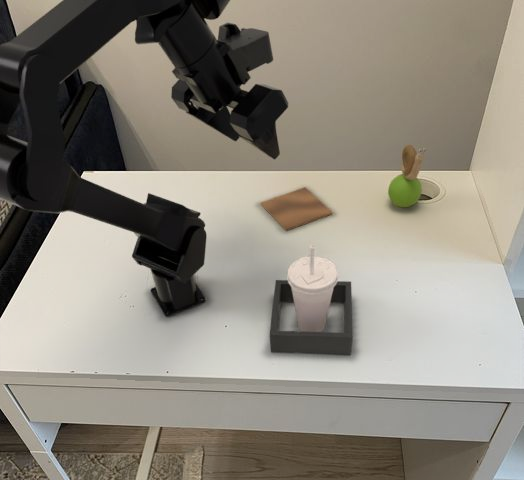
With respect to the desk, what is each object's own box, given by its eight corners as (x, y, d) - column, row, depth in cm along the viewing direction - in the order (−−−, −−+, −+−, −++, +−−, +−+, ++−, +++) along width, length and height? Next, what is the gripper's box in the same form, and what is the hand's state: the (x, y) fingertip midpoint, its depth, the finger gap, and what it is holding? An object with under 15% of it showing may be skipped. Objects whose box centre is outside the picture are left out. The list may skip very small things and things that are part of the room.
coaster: (332, 214, 93) (332, 212, 92) (286, 231, 90) (286, 229, 90) (305, 189, 98) (305, 187, 98) (260, 204, 96) (260, 202, 95)
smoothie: (282, 336, 75) (279, 256, 64) (296, 305, 79) (295, 224, 68) (328, 346, 73) (332, 265, 63) (339, 313, 77) (345, 232, 67)
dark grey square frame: (349, 299, 79) (351, 281, 76) (350, 355, 72) (352, 337, 69) (276, 297, 80) (275, 279, 77) (270, 352, 73) (269, 334, 70)
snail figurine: (395, 219, 91) (405, 152, 82) (381, 198, 95) (390, 132, 86) (426, 214, 91) (440, 146, 82) (411, 193, 95) (423, 127, 86)
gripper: (289, 7, 57) (341, 120, 69) (198, -9, 69) (255, 90, 81) (219, 85, 57) (283, 185, 69) (139, 56, 69) (205, 146, 81)
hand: (256, 147), depth 75 cm, fingers open, 9 cm apart
